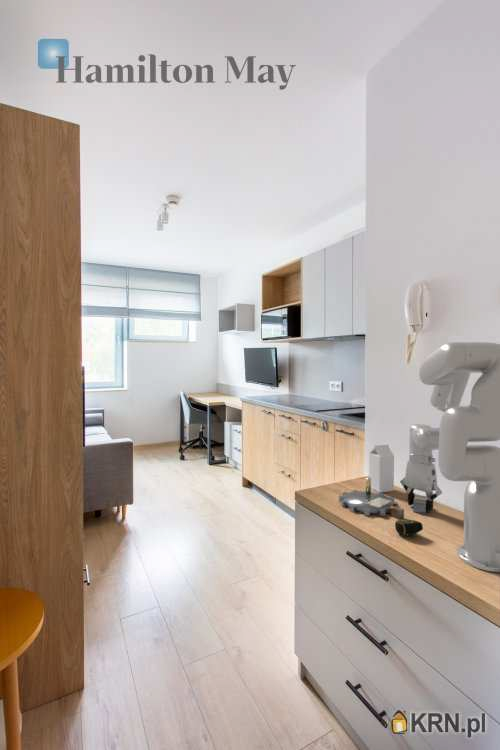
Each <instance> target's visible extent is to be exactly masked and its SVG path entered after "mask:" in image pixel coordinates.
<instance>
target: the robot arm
mask: <svg viewBox="0 0 500 750" xmlns="http://www.w3.org/2000/svg"><path fill="white" fill-rule="evenodd" d="M418 372H419V373H418V375H419V376H418V377H419V380H420V381H421V383H423V384H424V385H427V386H434V387H433V389H432V391H431V395H430V399H429V402H430V404H431V406H433V407H434V408H435V409H436V410H438V411H441V412H442V413H443V414H442V416H441V419H440V422H439V424H440V425H439V427H431V425H428V424H424V423H423V424H422V423H420V424H419V423H414V424H411V425H410V427H409V446H408V447H409V450H408V451H409V455H408V456H409V459H408V460H407V463H406V467H405V474H404V475H405V476H404V477H403V478H402V479H401V480H400V481H399V482H400V484H401V486H402V487H403V489H404V490H405V493H406V494H407V503H408V506H412V505H413V501H414V497H415V495H416V494H415V490H417V491H420V492H424V493H425V496H427V500H426V512H430V511H433V509H434V500H435V499H436V498H437V497H439V496H441V495H443V491H442V489H441V488H440V487H439V485H438V477H437V469H436V465H435V462H436V457H435V458H434V457H433V451H437V450H438V453H437V454H438V456H437V457H438V459H437V461H438V468H439V472H440V473H441V475H442V476H443V477H444V478H445V479H447V480H449V481H451V482H468V483H467V485H466V487H465V490H464V495H463V499H464V500H463V544H462V545H460V546H458V547H457V549H456V554H457V556H458V558H459V559H460V560H461V561H463V562H464V563H466V564H467V565H469V566H470V567H474V568H476V569H479V570H483V571H486V572H492V573H500V447H498V446H496V445H489V444H470V445H469V444H468V443H471V442H472V443H475V442H476V443H478V442H480V443H481V442H497V441H500V343H496V342H495V343H494V342H482V341H481V342H480V341H478V342H477V341H476V342H475V341H474V342H473V341H472V342H467V341H466V342H465V341H464V342H463V341H462V342H454V341H453V342H448V343H445V344H443V345H441V346H439V347H438V348H437V349H436V350H434V351H433V352H432V353H431V354H429V355H427V357H426V358H425V359H424V360H423V362H421V365H420V367H419V371H418ZM472 373H473V374H475V373H480V374H481V376H479V378H477V380H476V381H475V383H474V384H473V386H472V388H471V395H470V396H471V397H470V403H469V405H465V406H464V405H462V406H460V404H461V401H462V398H463V396H464V393H465V390H466V387H467V385H468V381H469V379H470V376H471V374H472ZM434 491H435V493H434Z"/></svg>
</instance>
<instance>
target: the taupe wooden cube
mask: <svg viewBox="0 0 500 750" xmlns="http://www.w3.org/2000/svg"><path fill="white" fill-rule="evenodd" d="M391 517H393V518H395V519H398V520H403V519H404V518H405V508H402V507H399V506H398V507H393V508H392V514H391Z"/></svg>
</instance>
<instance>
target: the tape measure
mask: <svg viewBox="0 0 500 750" xmlns="http://www.w3.org/2000/svg"><path fill="white" fill-rule="evenodd" d="M394 526H395V531H396V532H397V533H399V534H401V535H403V536H410V535H416V534H418V533H420V532H421V531H423V529H424V528H423V527H424V525H423V524H422V522H420V521H417V520H413V519H407V518H405V519H404V518H402V519H398V520H395V524H394Z"/></svg>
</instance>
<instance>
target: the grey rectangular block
mask: <svg viewBox="0 0 500 750" xmlns="http://www.w3.org/2000/svg"><path fill="white" fill-rule="evenodd" d="M426 500H427V496H426V495H421V494H415V497H414V501H413V506H412V512H413V513H417V514H422V515H427V511H426Z"/></svg>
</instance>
